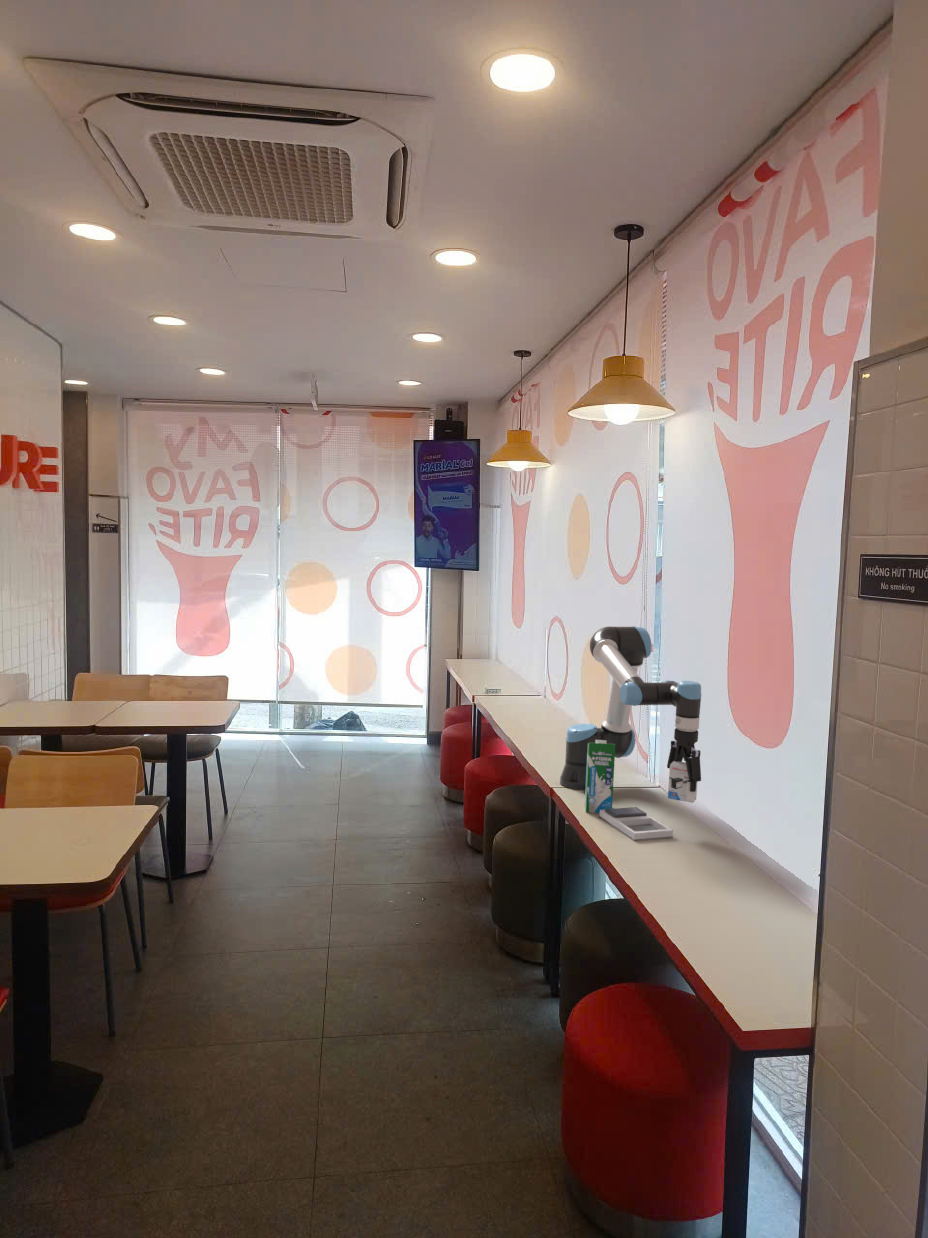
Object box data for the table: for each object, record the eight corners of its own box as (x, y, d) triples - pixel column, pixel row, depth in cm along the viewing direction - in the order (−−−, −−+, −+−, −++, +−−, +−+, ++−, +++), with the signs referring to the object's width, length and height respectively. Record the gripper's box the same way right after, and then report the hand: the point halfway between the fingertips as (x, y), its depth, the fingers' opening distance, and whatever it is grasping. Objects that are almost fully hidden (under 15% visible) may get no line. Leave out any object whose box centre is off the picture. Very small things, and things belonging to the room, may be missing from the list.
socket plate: (599, 817, 286) (599, 810, 286) (635, 814, 290) (635, 807, 290) (634, 841, 263) (634, 833, 263) (672, 837, 267) (673, 830, 267)
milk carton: (609, 806, 298) (613, 738, 296) (611, 814, 290) (615, 743, 287) (584, 804, 299) (587, 736, 297) (585, 812, 290) (589, 742, 288)
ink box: (667, 798, 272) (669, 763, 271) (670, 794, 276) (673, 760, 275) (693, 803, 268) (695, 768, 267) (696, 799, 272) (699, 764, 271)
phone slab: (605, 811, 284) (605, 809, 284) (636, 809, 288) (636, 806, 288) (614, 818, 277) (614, 815, 277) (646, 815, 281) (646, 813, 281)
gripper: (658, 721, 279) (654, 786, 281) (695, 737, 258) (690, 807, 261) (678, 720, 281) (674, 785, 284) (716, 736, 261) (711, 806, 263)
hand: (682, 795), depth 272 cm, fingers closed on ink box, 9 cm apart
